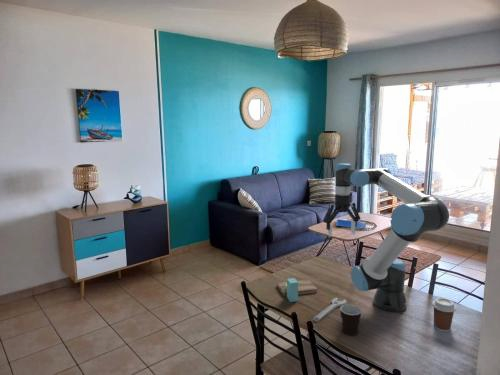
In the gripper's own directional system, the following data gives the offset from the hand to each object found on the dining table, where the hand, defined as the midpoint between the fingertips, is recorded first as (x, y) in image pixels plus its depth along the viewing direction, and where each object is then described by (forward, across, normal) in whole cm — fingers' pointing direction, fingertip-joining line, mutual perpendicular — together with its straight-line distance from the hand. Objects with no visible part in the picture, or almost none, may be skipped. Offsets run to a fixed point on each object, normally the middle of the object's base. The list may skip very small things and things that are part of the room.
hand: (341, 234), depth 188 cm
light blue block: (+30, +28, -1) cm, 41 cm away
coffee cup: (+31, -23, +45) cm, 59 cm away
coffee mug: (+31, +15, +34) cm, 49 cm away
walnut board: (+30, +22, -7) cm, 38 cm away
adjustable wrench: (+31, +16, +17) cm, 39 cm away
